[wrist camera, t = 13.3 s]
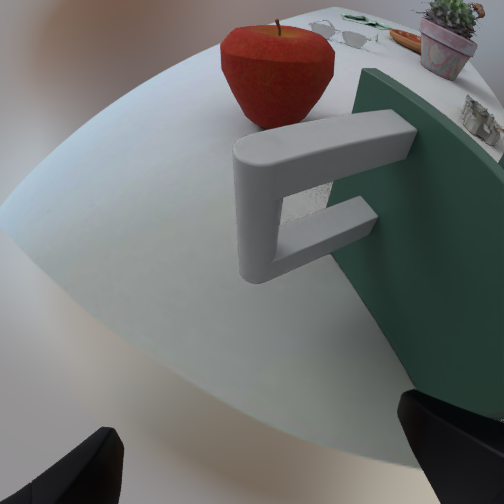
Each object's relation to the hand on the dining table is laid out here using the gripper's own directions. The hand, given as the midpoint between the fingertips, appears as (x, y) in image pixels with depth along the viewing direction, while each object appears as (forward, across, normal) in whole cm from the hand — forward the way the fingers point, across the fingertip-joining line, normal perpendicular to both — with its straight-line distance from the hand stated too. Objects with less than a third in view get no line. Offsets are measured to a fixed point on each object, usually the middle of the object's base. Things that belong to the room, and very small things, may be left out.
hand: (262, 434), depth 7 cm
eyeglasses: (+58, -34, -47) cm, 82 cm away
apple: (+25, -6, -14) cm, 29 cm away
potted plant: (+49, -54, -37) cm, 81 cm away
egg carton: (+29, -43, -17) cm, 54 cm away
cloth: (+86, -58, -74) cm, 128 cm away
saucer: (+64, -64, -52) cm, 104 cm away
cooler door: (+8, -6, +3) cm, 10 cm away
